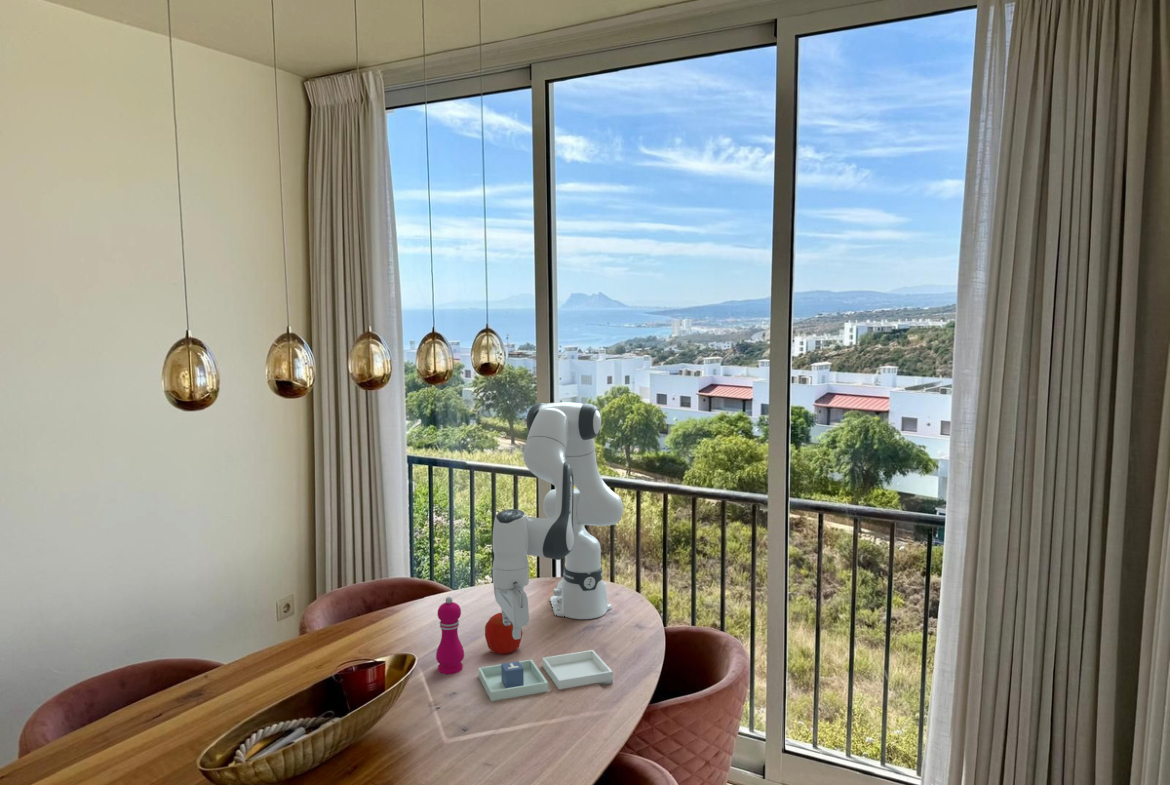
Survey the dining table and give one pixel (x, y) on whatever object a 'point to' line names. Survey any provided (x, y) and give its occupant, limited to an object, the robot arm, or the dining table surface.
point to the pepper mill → (449, 639)
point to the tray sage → (497, 690)
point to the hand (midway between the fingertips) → (511, 631)
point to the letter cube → (512, 674)
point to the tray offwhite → (577, 669)
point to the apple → (500, 636)
